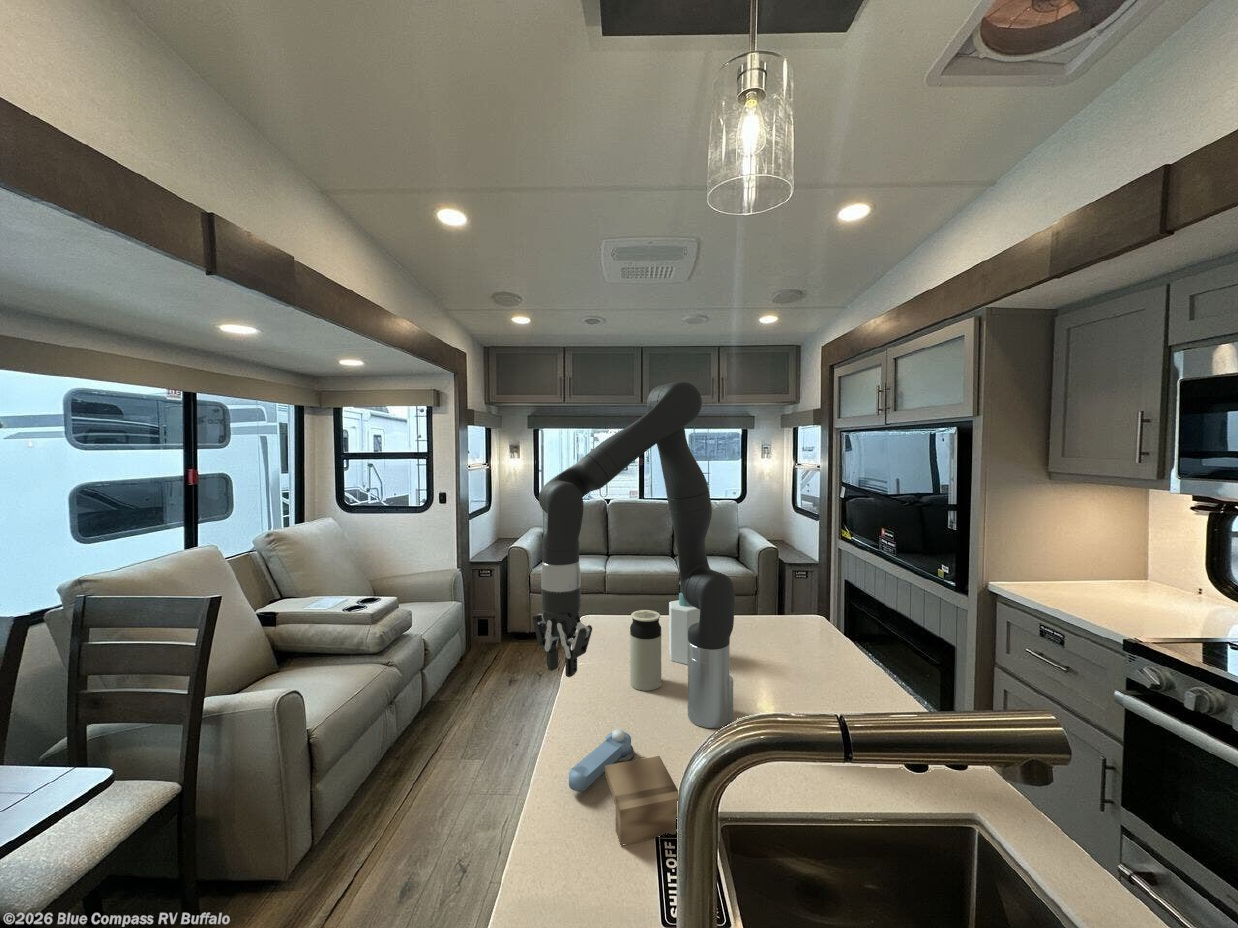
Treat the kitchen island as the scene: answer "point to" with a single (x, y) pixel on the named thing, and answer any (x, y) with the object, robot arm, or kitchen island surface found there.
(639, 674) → the travel mug
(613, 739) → the swing link
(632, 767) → the brown square block
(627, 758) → the pivot boss
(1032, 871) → the kitchen island surface
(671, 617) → the soap bottle
